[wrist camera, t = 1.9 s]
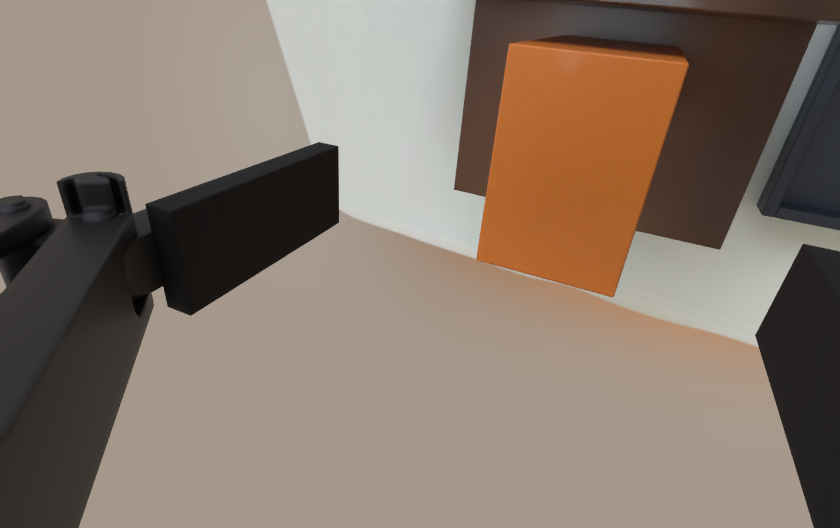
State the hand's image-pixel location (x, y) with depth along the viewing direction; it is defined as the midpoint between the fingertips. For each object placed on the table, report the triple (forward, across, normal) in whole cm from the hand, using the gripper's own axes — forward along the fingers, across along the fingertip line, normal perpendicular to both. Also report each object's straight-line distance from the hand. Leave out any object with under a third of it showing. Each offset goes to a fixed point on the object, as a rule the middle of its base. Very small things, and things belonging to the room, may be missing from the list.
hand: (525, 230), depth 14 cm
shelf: (+28, 0, +1) cm, 28 cm away
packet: (+18, 0, 0) cm, 18 cm away
